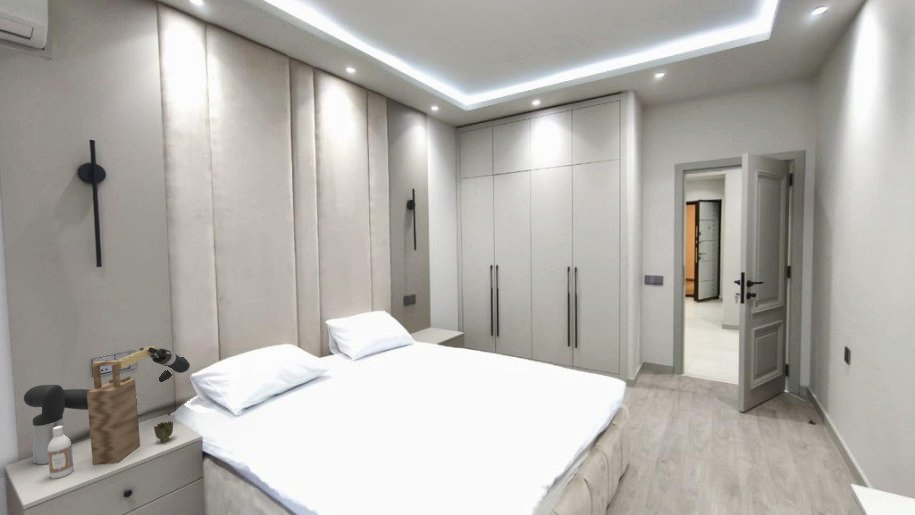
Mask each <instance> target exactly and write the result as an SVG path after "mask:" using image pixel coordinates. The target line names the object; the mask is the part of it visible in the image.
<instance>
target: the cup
mask: <svg viewBox="0 0 915 515" xmlns="http://www.w3.org/2000/svg"><path fill="white" fill-rule="evenodd" d="M153 429H154V433H155V434H154V435H155V437H156V439H158V440H159V441H160V443H165V442H168V441H169V440H170V437H171V436H172V434H173V431H174V422H173V421H171V420H168V421H165V422H163V421H161V422H160V423H157V424H156V425H154V426H153Z"/></svg>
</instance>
